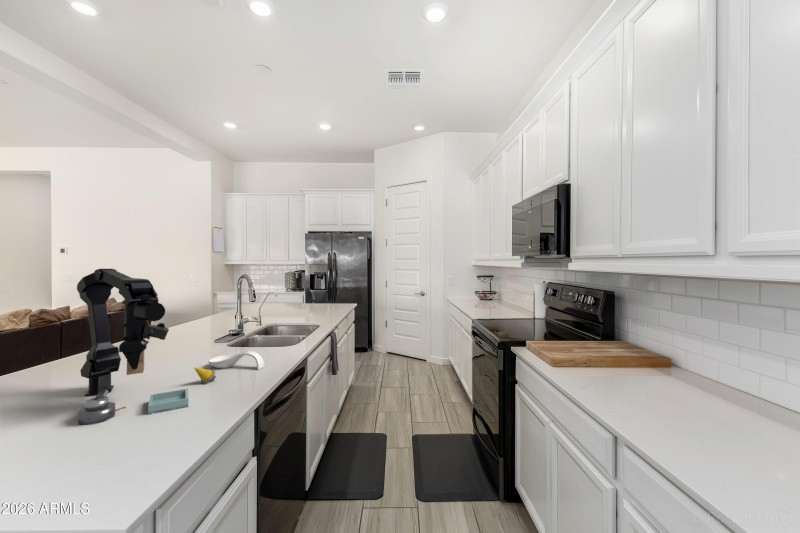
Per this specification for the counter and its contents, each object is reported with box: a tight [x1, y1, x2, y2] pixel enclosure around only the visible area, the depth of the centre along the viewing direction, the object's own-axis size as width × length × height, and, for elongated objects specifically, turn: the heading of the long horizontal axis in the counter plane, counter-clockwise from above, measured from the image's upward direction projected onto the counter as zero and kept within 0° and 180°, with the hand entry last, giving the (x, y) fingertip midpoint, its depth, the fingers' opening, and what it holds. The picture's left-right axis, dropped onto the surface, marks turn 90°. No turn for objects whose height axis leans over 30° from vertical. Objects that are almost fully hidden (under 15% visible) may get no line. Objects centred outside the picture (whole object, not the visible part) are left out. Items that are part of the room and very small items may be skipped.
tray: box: [147, 388, 189, 415], centre depth 103 cm, size 10×10×2 cm
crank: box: [84, 374, 112, 411], centre depth 98 cm, size 16×5×5 cm, turn 35°
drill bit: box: [193, 366, 217, 385], centre depth 121 cm, size 5×5×10 cm
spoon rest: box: [207, 350, 265, 371], centre depth 141 cm, size 24×12×7 cm, turn 83°
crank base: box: [76, 401, 126, 426], centre depth 94 cm, size 9×10×3 cm
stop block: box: [126, 350, 145, 376], centre depth 103 cm, size 4×4×7 cm
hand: (135, 367), depth 103 cm, fingers closed on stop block, 4 cm apart
